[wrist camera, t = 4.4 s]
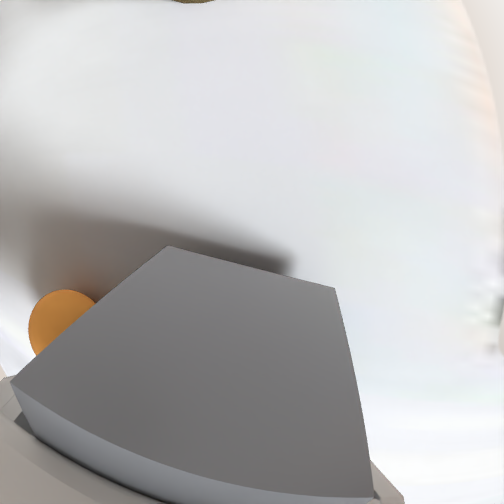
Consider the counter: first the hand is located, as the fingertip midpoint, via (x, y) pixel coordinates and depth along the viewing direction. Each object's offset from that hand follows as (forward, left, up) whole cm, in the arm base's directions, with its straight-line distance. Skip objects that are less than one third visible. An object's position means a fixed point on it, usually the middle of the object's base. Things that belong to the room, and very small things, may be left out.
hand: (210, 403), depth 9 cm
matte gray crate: (0, 0, -4) cm, 4 cm away
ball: (-5, -8, -4) cm, 10 cm away
